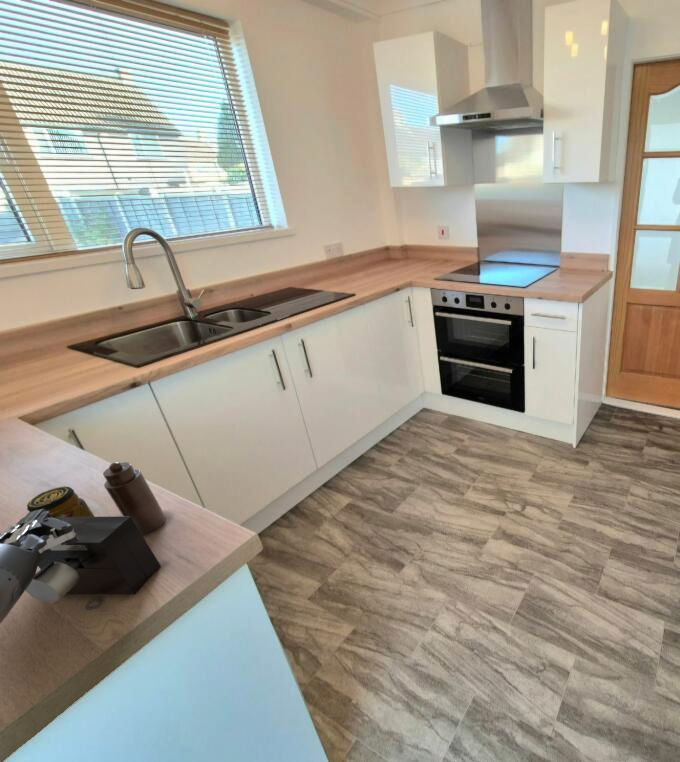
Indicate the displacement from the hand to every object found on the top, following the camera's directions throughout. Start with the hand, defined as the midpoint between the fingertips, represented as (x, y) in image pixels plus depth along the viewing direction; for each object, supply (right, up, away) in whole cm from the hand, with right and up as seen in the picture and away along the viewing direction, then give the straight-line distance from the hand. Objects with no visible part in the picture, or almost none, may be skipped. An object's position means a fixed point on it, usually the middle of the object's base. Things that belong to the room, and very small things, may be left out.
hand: (40, 515), depth 61 cm
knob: (+5, -10, -1) cm, 11 cm away
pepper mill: (+2, -7, +16) cm, 17 cm away
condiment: (-4, -9, +12) cm, 16 cm away
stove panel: (+5, -12, +5) cm, 14 cm away
